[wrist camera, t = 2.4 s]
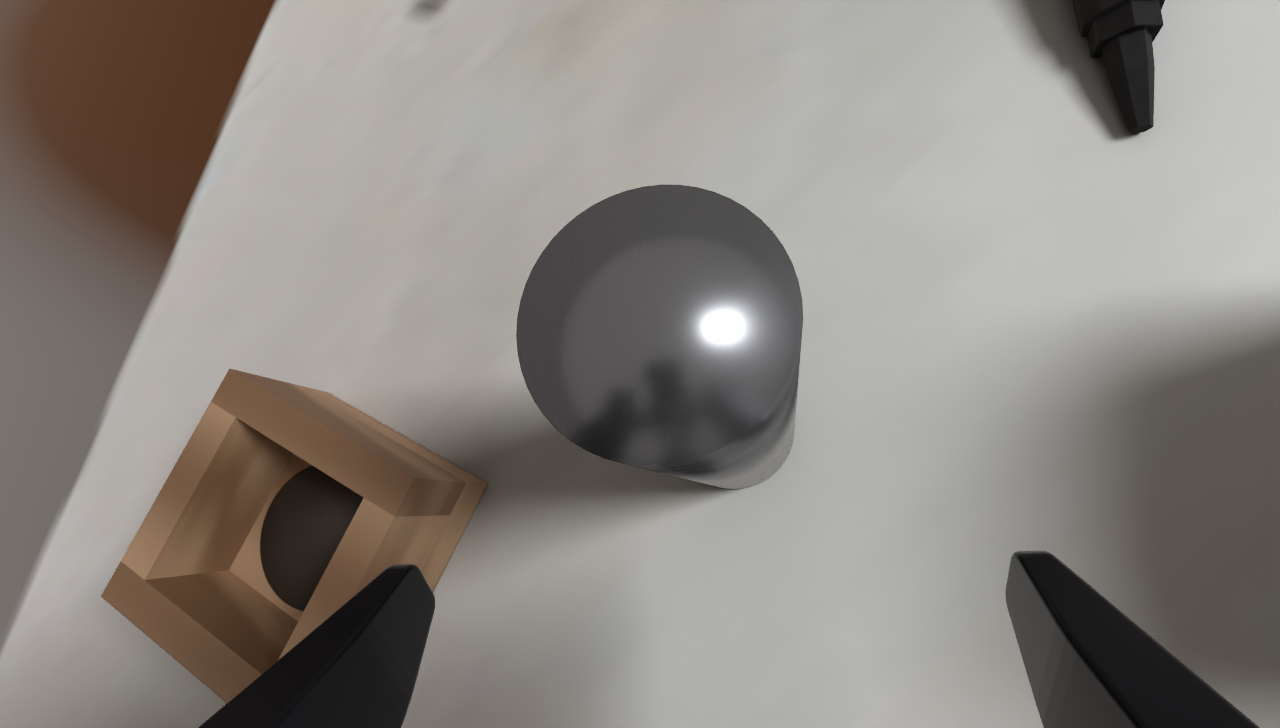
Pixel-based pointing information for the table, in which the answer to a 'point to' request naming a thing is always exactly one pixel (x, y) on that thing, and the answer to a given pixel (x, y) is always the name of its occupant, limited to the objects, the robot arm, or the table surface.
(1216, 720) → the robot arm
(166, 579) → the socket block
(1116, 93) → the microphone
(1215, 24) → the table surface
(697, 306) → the pin
